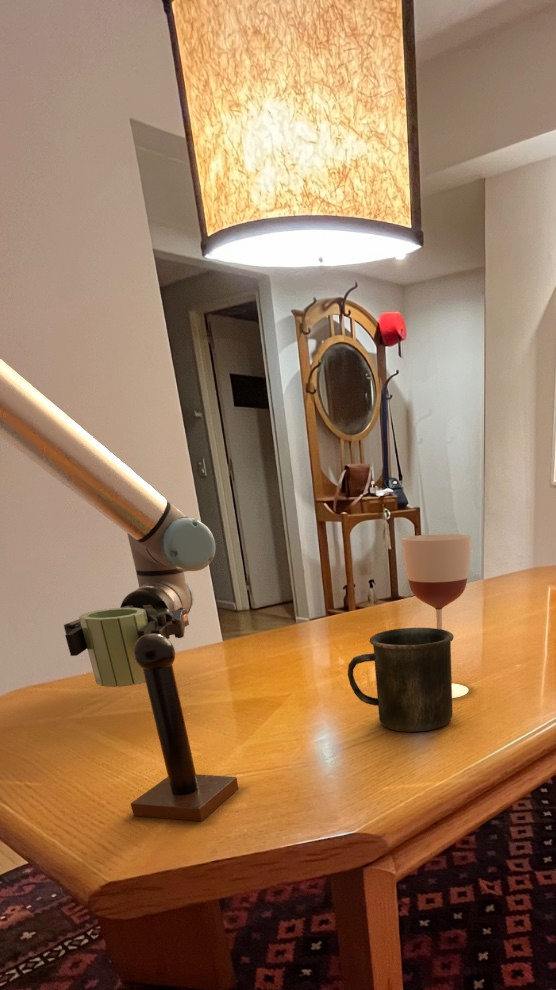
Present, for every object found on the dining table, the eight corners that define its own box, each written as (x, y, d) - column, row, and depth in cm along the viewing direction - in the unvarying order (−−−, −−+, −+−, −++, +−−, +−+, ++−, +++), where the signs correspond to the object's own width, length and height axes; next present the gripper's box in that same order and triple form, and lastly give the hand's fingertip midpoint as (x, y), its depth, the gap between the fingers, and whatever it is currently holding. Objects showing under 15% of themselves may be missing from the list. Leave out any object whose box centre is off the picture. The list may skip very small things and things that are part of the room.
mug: (462, 730, 91) (460, 642, 86) (355, 740, 89) (346, 650, 84) (448, 705, 101) (445, 625, 96) (350, 714, 99) (342, 632, 93)
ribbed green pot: (84, 685, 91) (65, 618, 88) (121, 670, 98) (106, 607, 95) (136, 688, 90) (120, 619, 86) (170, 671, 97) (156, 608, 93)
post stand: (133, 816, 71) (86, 642, 63) (175, 784, 78) (138, 624, 70) (201, 821, 70) (163, 644, 61) (238, 788, 77) (208, 625, 68)
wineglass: (475, 698, 104) (473, 539, 94) (410, 701, 103) (402, 541, 93) (469, 681, 112) (467, 533, 102) (409, 683, 112) (401, 535, 101)
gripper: (223, 631, 110) (196, 667, 90) (88, 638, 108) (29, 676, 88) (215, 583, 107) (185, 610, 87) (76, 589, 105) (12, 618, 84)
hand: (107, 643), depth 87 cm, fingers closed on ribbed green pot, 8 cm apart
